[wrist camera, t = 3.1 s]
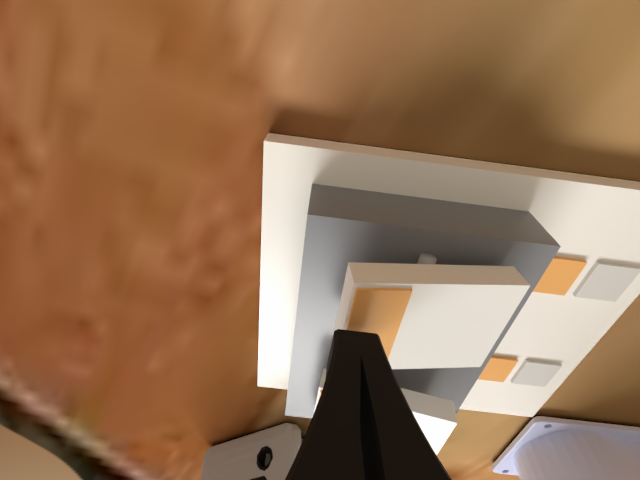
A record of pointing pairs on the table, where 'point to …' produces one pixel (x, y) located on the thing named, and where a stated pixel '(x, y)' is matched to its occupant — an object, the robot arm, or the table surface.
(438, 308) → the rocker near
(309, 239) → the switch unit
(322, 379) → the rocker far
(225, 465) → the electrical switch
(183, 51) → the table surface
